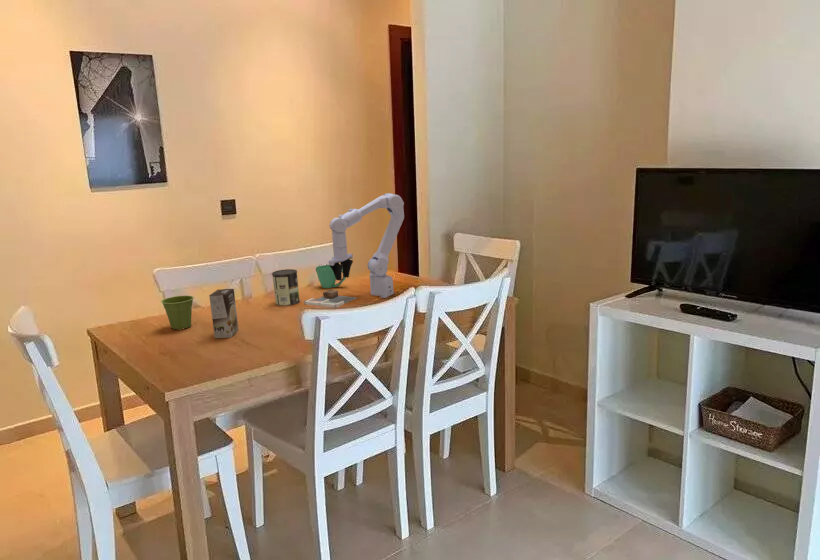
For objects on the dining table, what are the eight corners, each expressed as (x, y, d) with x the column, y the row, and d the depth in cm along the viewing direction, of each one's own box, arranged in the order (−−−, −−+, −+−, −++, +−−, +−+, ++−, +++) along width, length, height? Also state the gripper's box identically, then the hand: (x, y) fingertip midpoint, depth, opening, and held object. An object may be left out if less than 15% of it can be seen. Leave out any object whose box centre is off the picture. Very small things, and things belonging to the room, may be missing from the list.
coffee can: (297, 299, 276) (294, 267, 273) (302, 305, 267) (299, 272, 264) (273, 303, 273) (270, 271, 270) (277, 309, 264) (273, 275, 260)
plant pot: (202, 326, 245) (198, 298, 243) (172, 334, 238) (167, 305, 235) (190, 320, 254) (186, 293, 251) (160, 328, 246) (156, 299, 244)
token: (338, 296, 275) (337, 290, 274) (332, 298, 271) (331, 293, 271) (329, 295, 277) (329, 289, 277) (323, 297, 274) (323, 292, 273)
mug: (313, 290, 291) (311, 269, 288) (324, 285, 299) (322, 264, 297) (341, 292, 285) (339, 270, 282) (352, 286, 293) (350, 265, 291)
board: (358, 299, 271) (357, 294, 271) (335, 309, 258) (335, 304, 257) (327, 296, 279) (327, 291, 279) (304, 306, 266) (304, 301, 265)
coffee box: (231, 337, 229) (226, 294, 226) (214, 338, 230) (208, 295, 226) (239, 329, 238) (234, 288, 235) (222, 330, 239) (216, 289, 235)
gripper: (342, 243, 274) (344, 274, 277) (321, 249, 262) (324, 282, 265) (355, 244, 270) (358, 275, 273) (335, 250, 258) (338, 283, 261)
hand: (342, 278), depth 269 cm, fingers open, 5 cm apart
